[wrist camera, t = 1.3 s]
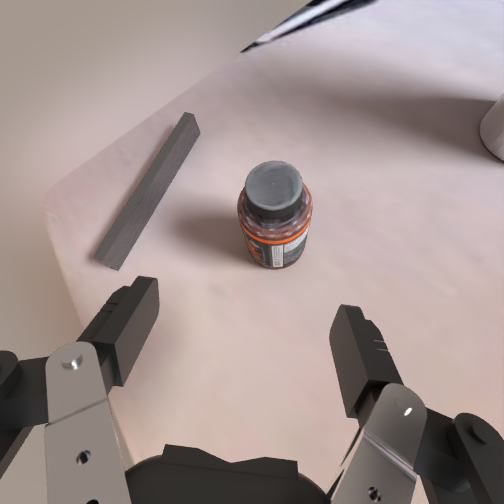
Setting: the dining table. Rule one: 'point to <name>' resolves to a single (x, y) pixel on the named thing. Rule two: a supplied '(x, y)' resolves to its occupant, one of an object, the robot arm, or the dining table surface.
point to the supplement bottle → (275, 214)
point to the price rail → (148, 194)
